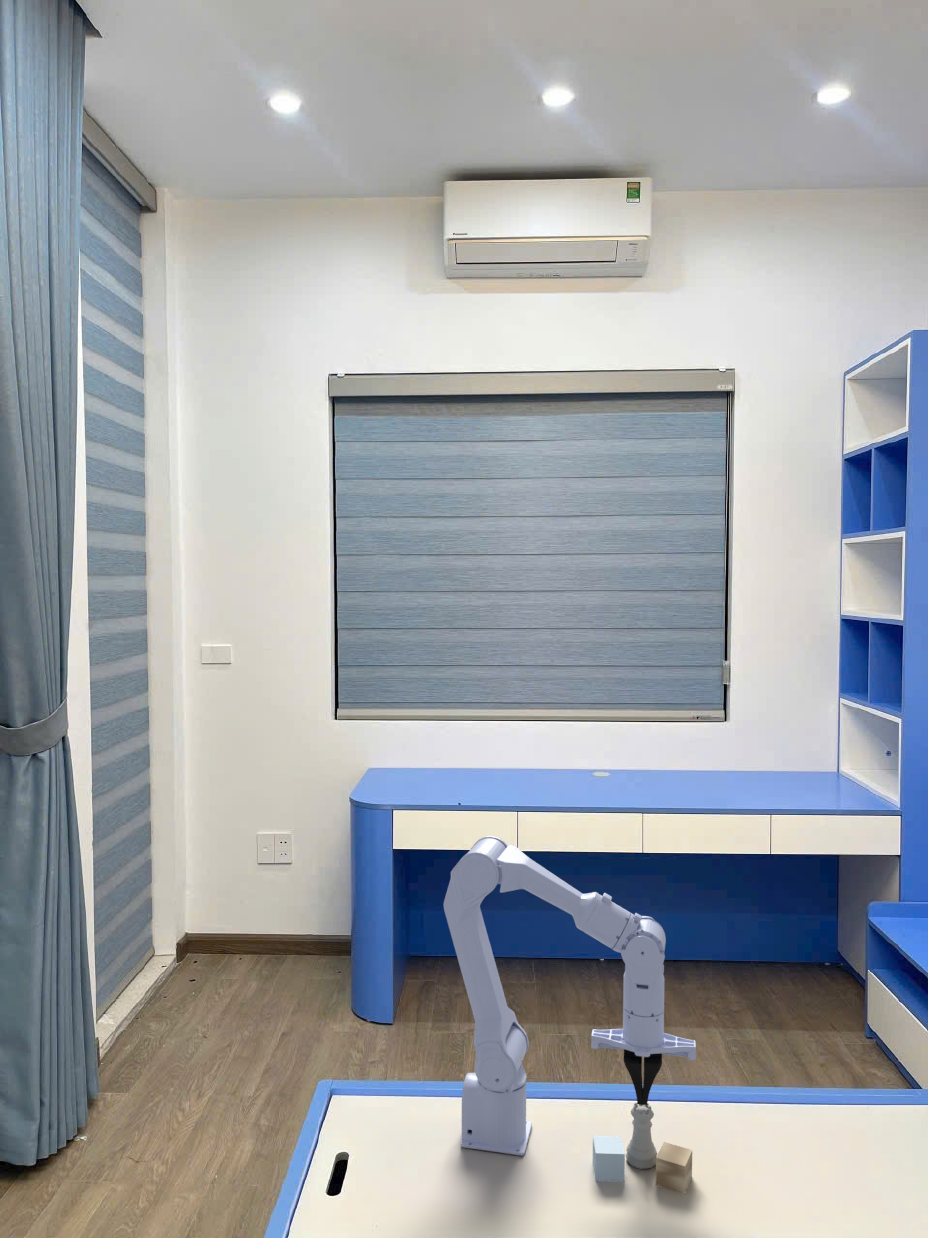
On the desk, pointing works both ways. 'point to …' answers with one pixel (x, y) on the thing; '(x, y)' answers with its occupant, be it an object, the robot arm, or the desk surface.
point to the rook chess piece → (641, 1139)
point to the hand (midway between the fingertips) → (642, 1101)
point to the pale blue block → (608, 1158)
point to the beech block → (674, 1167)
